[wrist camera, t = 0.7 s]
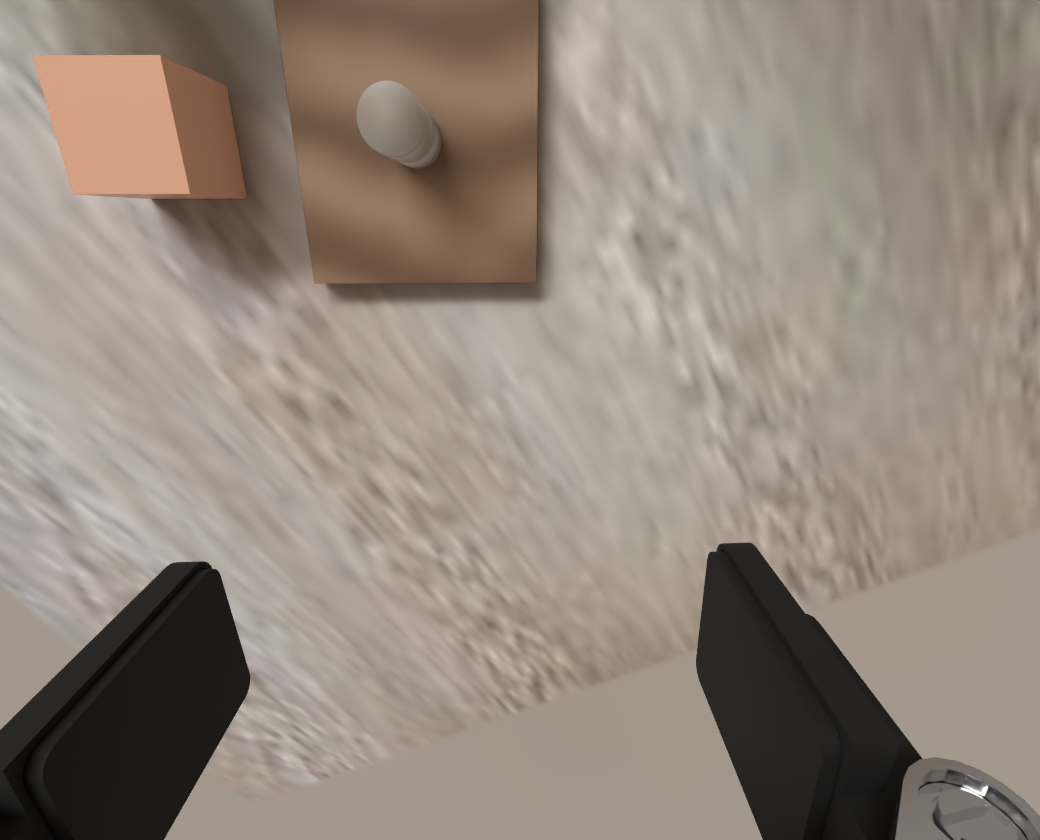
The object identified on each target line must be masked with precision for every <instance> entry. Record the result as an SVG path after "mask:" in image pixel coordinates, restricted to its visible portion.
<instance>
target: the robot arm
mask: <svg viewBox="0 0 1040 840" xmlns="http://www.w3.org/2000/svg"><path fill="white" fill-rule="evenodd" d="M696 667H697V673H698V677H699V681H700V683H701V686H702V688H703V691H704V693H705V696H706V698H707V701H708V703H709V706H710V708H711V711H712V713H713V716H714V718H715V721H716V723H717V726H718V728H719V730H720V733H721V736H722V738H723V741H724V743H725V746H726V748H727V750H728V753H729V756H730V758H731V760H732V763H733V766H734V768H735V770H736V773H737V776H738V778H739V781H740V783H741V786H742V788H743V791H744V793H745V796H746V798H747V801H748V803H749V806H750V808H751V811H752V813H753V816H754V818H755V821H756V823H757V826H758V828H759V831H760V833H761V836H762V838H763V840H1040V816H1039V815H1038V814H1037V813H1036V812H1035V811H1034V810H1033V809H1032V808H1031V807H1030V805H1029V804H1028V803H1027V802H1026V801H1025V800H1024V799H1022V798H1021V797H1020V796H1019V795H1017V794H1016V793H1015V792H1013V791H1012V790H1011V789H1009V788H1008V787H1007V786H1005V785H1004V784H1003V783H1001V782H1000V781H998V780H996V779H995V778H993V777H991V776H989V775H988V774H986V773H984V772H982V771H981V770H979V769H976V768H974V767H971V766H968V765H966V764H963V763H960V762H957V761H954V760H948V759H942V758H928V759H922V758H921V756H920V755H919V754H918V752H917V751H916V750H915V748H914V747H913V746H912V745H911V743H910V742H909V741H908V739H907V738H906V737H905V735H904V734H903V733H902V731H901V730H900V729H899V728H898V726H897V725H896V724H895V723H894V721H893V719H892V718H891V717H890V716H889V714H888V713H887V712H886V710H885V709H884V708H883V707H882V705H881V704H880V702H879V701H878V700H877V698H876V697H875V696H874V695H873V693H872V692H871V691H870V689H869V688H868V687H867V685H866V684H865V683H864V681H863V680H862V679H861V677H860V676H859V675H858V673H857V672H856V671H855V669H854V668H853V667H852V665H851V664H850V663H849V661H848V660H847V659H846V657H845V656H844V655H843V654H842V652H841V651H840V650H839V648H838V647H837V646H836V644H835V643H834V642H833V640H832V639H831V638H830V636H829V635H828V634H827V632H826V631H825V630H824V628H823V627H822V626H821V625H820V623H819V622H818V621H817V620H816V619H815V618H814V617H812V616H810V615H808V614H805V613H804V611H803V610H802V609H801V607H800V606H799V605H798V603H797V602H796V601H795V599H794V598H793V597H792V595H791V594H790V592H789V591H788V590H787V588H786V587H785V586H784V584H783V583H782V582H781V580H780V579H779V578H778V576H777V575H776V574H775V572H774V571H773V570H772V568H771V567H770V565H769V564H768V563H767V561H766V560H765V559H764V557H763V556H762V555H761V553H760V552H759V551H758V549H757V548H756V547H755V546H754V545H753V544H752V543H725V544H720V545H719V546H718V548H717V552H710V553H709V555H708V559H707V568H706V577H705V586H704V595H703V604H702V612H701V621H700V630H699V639H698V648H697V657H696ZM249 685H250V674H249V670H248V667H247V663H246V660H245V657H244V653H243V650H242V646H241V643H240V640H239V636H238V633H237V630H236V626H235V623H234V619H233V616H232V613H231V609H230V606H229V603H228V599H227V596H226V593H225V589H224V586H223V582H222V579H221V576H220V574H219V572H218V571H217V570H216V569H212V567H211V565H209V564H208V563H207V562H176V563H172V564H170V565H169V566H167V567H166V568H165V569H164V570H163V571H162V572H161V573H160V574H159V575H158V576H157V577H156V578H155V579H154V580H153V581H152V582H151V583H150V584H149V585H148V586H147V587H146V588H145V589H144V590H142V591H141V592H140V593H139V594H138V595H137V596H136V597H135V598H134V599H133V600H132V601H131V602H130V603H129V604H128V605H127V606H126V607H125V608H124V609H123V610H122V611H121V612H120V613H119V614H118V615H117V616H116V617H115V618H114V619H113V620H112V621H111V622H110V623H109V624H108V625H107V626H106V627H105V628H104V629H103V630H102V631H101V632H100V633H99V634H98V635H97V636H96V637H95V638H94V639H93V640H92V641H91V642H89V643H88V644H87V645H86V646H85V647H84V648H83V649H82V650H81V651H80V652H79V653H78V654H77V655H76V656H75V657H74V658H73V659H72V660H71V661H70V662H69V663H68V664H67V665H66V666H65V667H64V668H63V669H62V670H61V671H60V672H59V673H58V674H57V675H56V676H55V677H54V678H53V679H52V680H51V681H50V682H49V683H48V684H47V685H46V686H45V687H44V688H43V689H42V690H41V691H40V692H39V693H38V694H37V695H35V697H33V698H32V699H31V700H30V701H29V702H28V703H27V704H26V705H25V706H24V707H23V708H22V709H21V710H20V711H19V712H18V713H17V714H16V715H15V716H14V717H13V718H12V719H11V720H10V721H9V722H8V723H7V724H6V725H5V726H4V727H3V728H2V729H1V730H0V840H164V838H165V837H166V835H167V833H168V831H169V829H170V828H171V826H172V824H173V823H174V821H175V819H176V817H177V816H178V814H179V812H180V810H181V809H182V807H183V805H184V803H185V802H186V800H187V798H188V796H189V795H190V793H191V791H192V789H193V788H194V786H195V784H196V782H197V781H198V779H199V777H200V775H201V774H202V772H203V770H204V769H205V767H206V765H207V763H208V762H209V760H210V758H211V756H212V755H213V753H214V751H215V749H216V748H217V746H218V744H219V742H220V741H221V739H222V737H223V735H224V734H225V732H226V730H227V728H228V727H229V725H230V723H231V721H232V720H233V718H234V716H235V714H236V713H237V711H238V709H239V707H240V706H241V704H242V702H243V700H244V699H245V697H246V695H247V693H248V689H249Z"/></svg>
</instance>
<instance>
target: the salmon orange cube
mask: <svg viewBox="0 0 1040 840" xmlns="http://www.w3.org/2000/svg"><path fill="white" fill-rule="evenodd" d="M32 56H33V59H34V62H35V66H36V69H37V73H38V76H39V80H40V83H41V86H42V90H43V93H44V97H45V100H46V104H47V107H48V110H49V114H50V117H51V121H52V124H53V128H54V131H55V134H56V138H57V141H58V145H59V148H60V152H61V155H62V158H63V162H64V165H65V169H66V172H67V176H68V179H69V182H70V186H71V189H72V193H73V194H78V195H95V196H111V197H128V198H144V199H247V195H246V189H245V184H244V178H243V172H242V167H241V161H240V156H239V150H238V145H237V139H236V134H235V128H234V122H233V117H232V111H231V106H230V100H229V95H228V89H227V86H226V85H224V84H221V83H219V82H217V81H215V80H213V79H211V78H209V77H206V76H204V75H202V74H200V73H198V72H196V71H193V70H191V69H189V68H187V67H185V66H183V65H181V64H178V63H176V62H174V61H172V60H170V59H168V58H166V57H163V56H161V55H32Z"/></svg>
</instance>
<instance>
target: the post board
mask: <svg viewBox="0 0 1040 840" xmlns="http://www.w3.org/2000/svg"><path fill="white" fill-rule="evenodd" d="M274 6H275V13H276V20H277V27H278V34H279V41H280V48H281V55H282V62H283V69H284V75H285V82H286V89H287V96H288V103H289V110H290V117H291V124H292V131H293V138H294V145H295V152H296V159H297V166H298V173H299V179H300V186H301V193H302V200H303V207H304V214H305V221H306V228H307V235H308V242H309V249H310V256H311V263H312V270H313V277H314V284H318V283H536V253H537V120H538V0H274Z"/></svg>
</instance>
